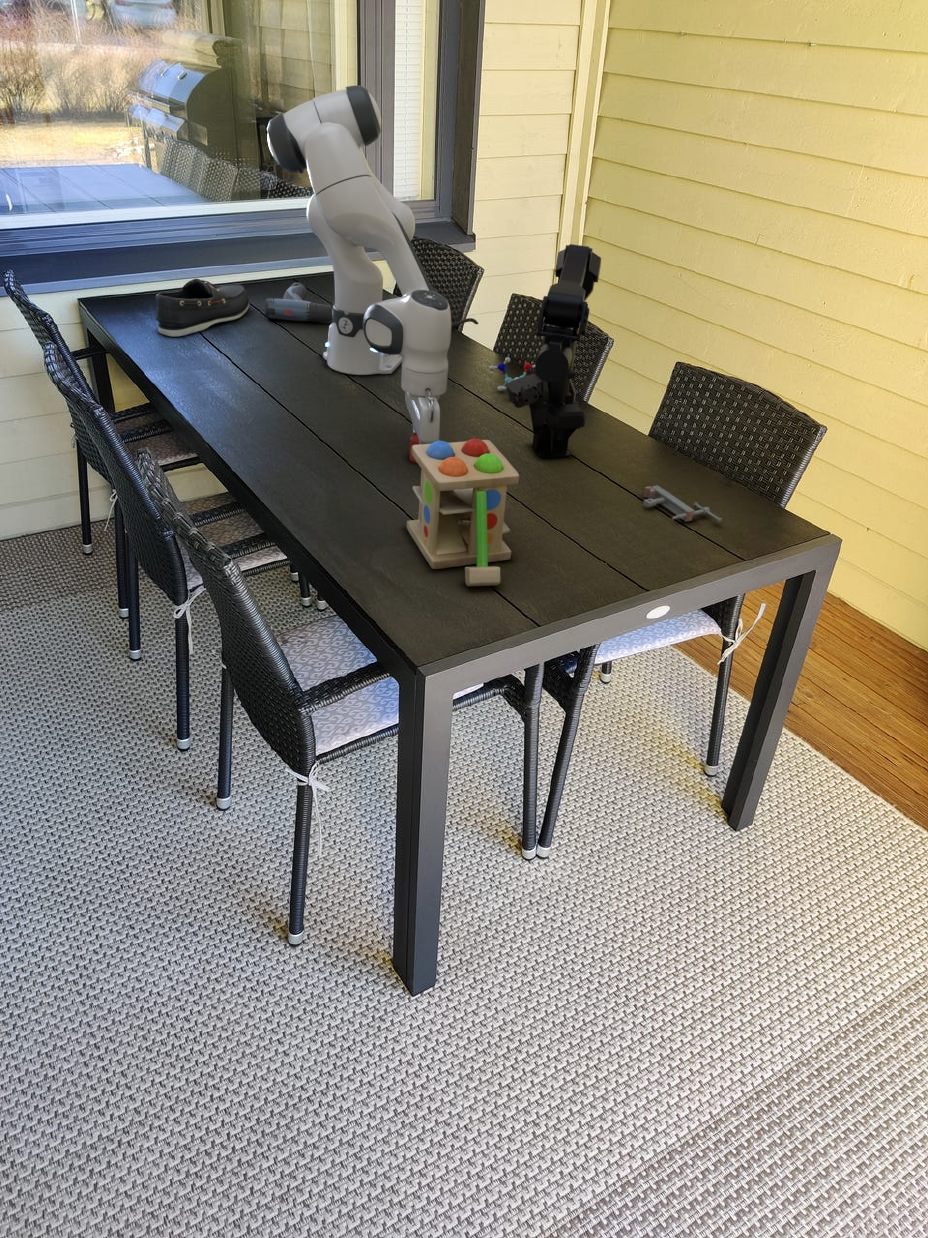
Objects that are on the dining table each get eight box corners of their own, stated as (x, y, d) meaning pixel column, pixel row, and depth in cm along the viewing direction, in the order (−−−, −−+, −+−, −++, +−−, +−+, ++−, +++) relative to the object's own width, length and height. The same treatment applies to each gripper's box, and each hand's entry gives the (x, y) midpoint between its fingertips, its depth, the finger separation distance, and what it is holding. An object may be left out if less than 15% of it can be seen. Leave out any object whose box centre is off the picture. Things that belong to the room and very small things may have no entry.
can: (422, 465, 195) (423, 444, 192) (405, 459, 196) (406, 438, 194) (433, 458, 198) (434, 437, 195) (416, 453, 199) (417, 432, 197)
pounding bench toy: (530, 586, 160) (545, 488, 150) (449, 597, 155) (458, 496, 145) (480, 519, 178) (490, 427, 168) (405, 527, 173) (411, 433, 163)
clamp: (632, 488, 188) (672, 480, 193) (630, 499, 190) (670, 490, 194) (684, 524, 178) (724, 515, 182) (681, 535, 179) (722, 525, 184)
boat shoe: (268, 313, 265) (265, 274, 259) (176, 339, 241) (172, 296, 236) (232, 304, 271) (230, 265, 265) (140, 328, 247) (135, 286, 241)
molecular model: (534, 392, 222) (521, 349, 221) (497, 406, 226) (483, 364, 224) (547, 391, 232) (534, 350, 231) (510, 404, 236) (497, 364, 235)
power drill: (344, 304, 276) (335, 327, 259) (277, 298, 275) (264, 321, 258) (344, 285, 273) (335, 306, 256) (277, 279, 272) (264, 300, 255)
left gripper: (450, 400, 180) (444, 469, 188) (432, 361, 196) (427, 425, 204) (416, 400, 179) (412, 469, 186) (400, 360, 195) (397, 425, 203)
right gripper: (496, 346, 180) (488, 425, 189) (533, 384, 166) (522, 468, 174) (552, 345, 183) (542, 423, 192) (593, 382, 169) (579, 464, 178)
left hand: (420, 446), depth 195 cm, fingers open, 5 cm apart
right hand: (545, 443), depth 184 cm, fingers open, 9 cm apart
